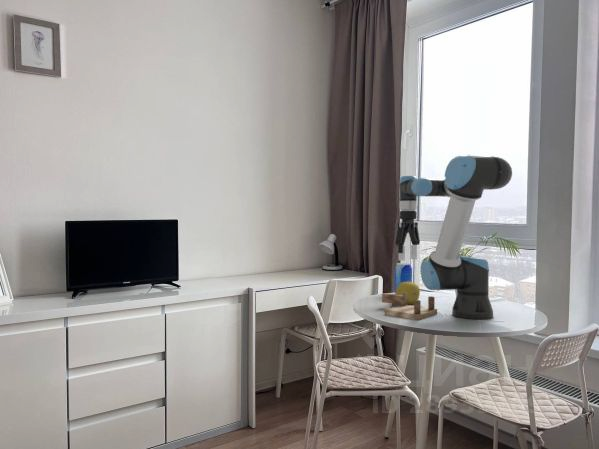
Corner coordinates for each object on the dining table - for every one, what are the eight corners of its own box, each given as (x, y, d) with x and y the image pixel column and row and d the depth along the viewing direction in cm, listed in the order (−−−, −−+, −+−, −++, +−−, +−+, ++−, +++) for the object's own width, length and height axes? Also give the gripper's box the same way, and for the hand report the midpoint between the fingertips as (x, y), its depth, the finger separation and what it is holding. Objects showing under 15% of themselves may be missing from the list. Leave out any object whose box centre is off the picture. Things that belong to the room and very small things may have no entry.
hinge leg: (407, 304, 194) (407, 292, 193) (404, 305, 192) (404, 293, 192) (384, 301, 200) (384, 290, 200) (381, 302, 198) (382, 291, 198)
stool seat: (437, 314, 185) (437, 296, 185) (418, 320, 174) (418, 301, 174) (403, 309, 196) (403, 292, 195) (384, 314, 185) (384, 297, 184)
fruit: (424, 303, 208) (424, 281, 208) (409, 306, 202) (409, 283, 201) (405, 300, 216) (406, 279, 216) (391, 303, 209) (391, 281, 209)
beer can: (401, 294, 235) (401, 262, 235) (415, 296, 229) (415, 263, 229) (391, 295, 230) (391, 263, 230) (405, 298, 224) (405, 264, 223)
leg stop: (401, 307, 199) (401, 300, 199) (399, 308, 198) (399, 301, 198) (393, 306, 202) (393, 299, 202) (391, 306, 201) (391, 300, 201)
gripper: (413, 210, 219) (412, 257, 220) (387, 210, 203) (387, 260, 203) (427, 210, 214) (427, 258, 214) (402, 210, 197) (402, 261, 198)
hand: (407, 259), depth 209 cm, fingers open, 10 cm apart
